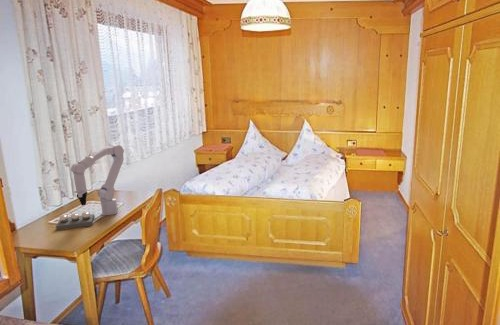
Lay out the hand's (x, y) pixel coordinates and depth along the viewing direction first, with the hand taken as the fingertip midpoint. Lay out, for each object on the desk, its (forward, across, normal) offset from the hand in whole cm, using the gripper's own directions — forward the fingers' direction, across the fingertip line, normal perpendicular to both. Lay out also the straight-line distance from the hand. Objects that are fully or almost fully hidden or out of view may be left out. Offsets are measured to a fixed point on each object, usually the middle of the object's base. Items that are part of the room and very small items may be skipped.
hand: (83, 204), depth 224 cm
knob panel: (+10, +4, -5) cm, 12 cm away
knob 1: (+9, +4, -11) cm, 15 cm away
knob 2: (+10, +4, +1) cm, 10 cm away
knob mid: (+10, +4, -5) cm, 12 cm away
